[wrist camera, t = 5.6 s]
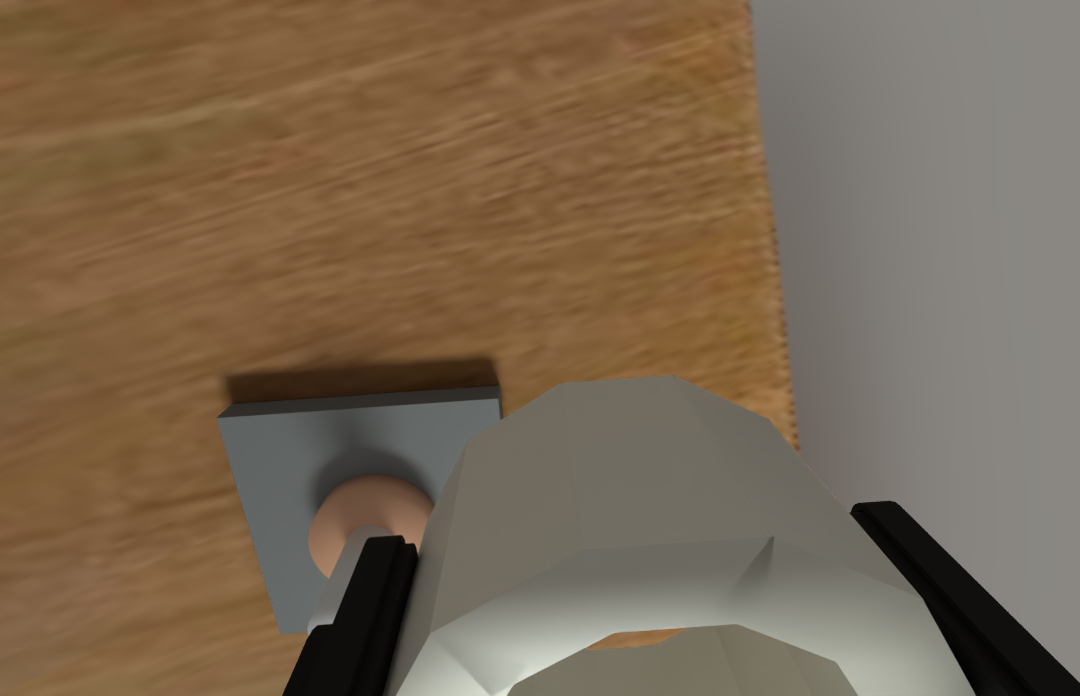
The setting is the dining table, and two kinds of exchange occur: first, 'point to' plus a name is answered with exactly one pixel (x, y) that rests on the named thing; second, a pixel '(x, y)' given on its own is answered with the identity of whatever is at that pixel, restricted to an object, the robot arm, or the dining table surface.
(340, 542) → the post stand
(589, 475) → the ring
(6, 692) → the dining table surface
